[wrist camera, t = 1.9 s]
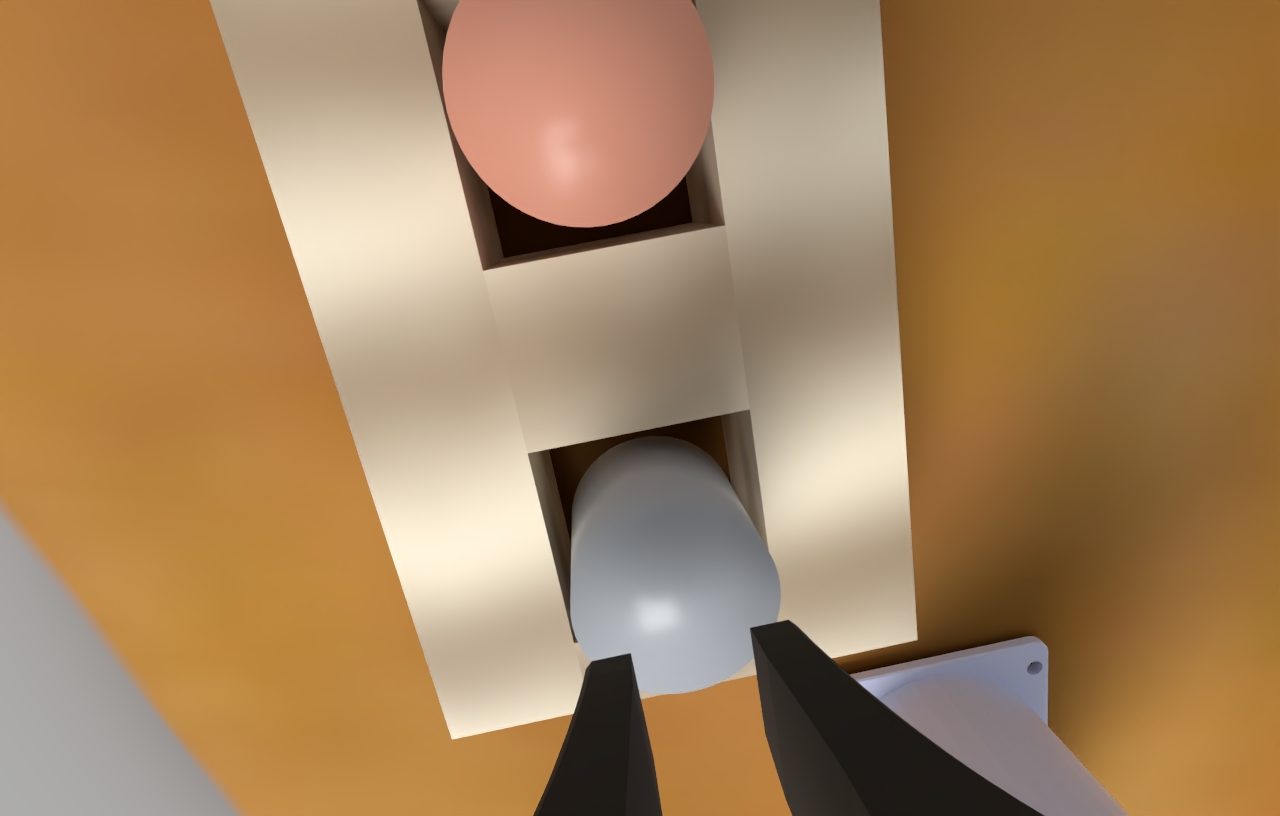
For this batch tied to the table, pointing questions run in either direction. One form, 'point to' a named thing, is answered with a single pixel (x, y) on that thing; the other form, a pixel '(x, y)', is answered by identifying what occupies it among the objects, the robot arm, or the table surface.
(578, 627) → the grey button
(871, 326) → the button panel
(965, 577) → the table surface
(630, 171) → the terracotta button
